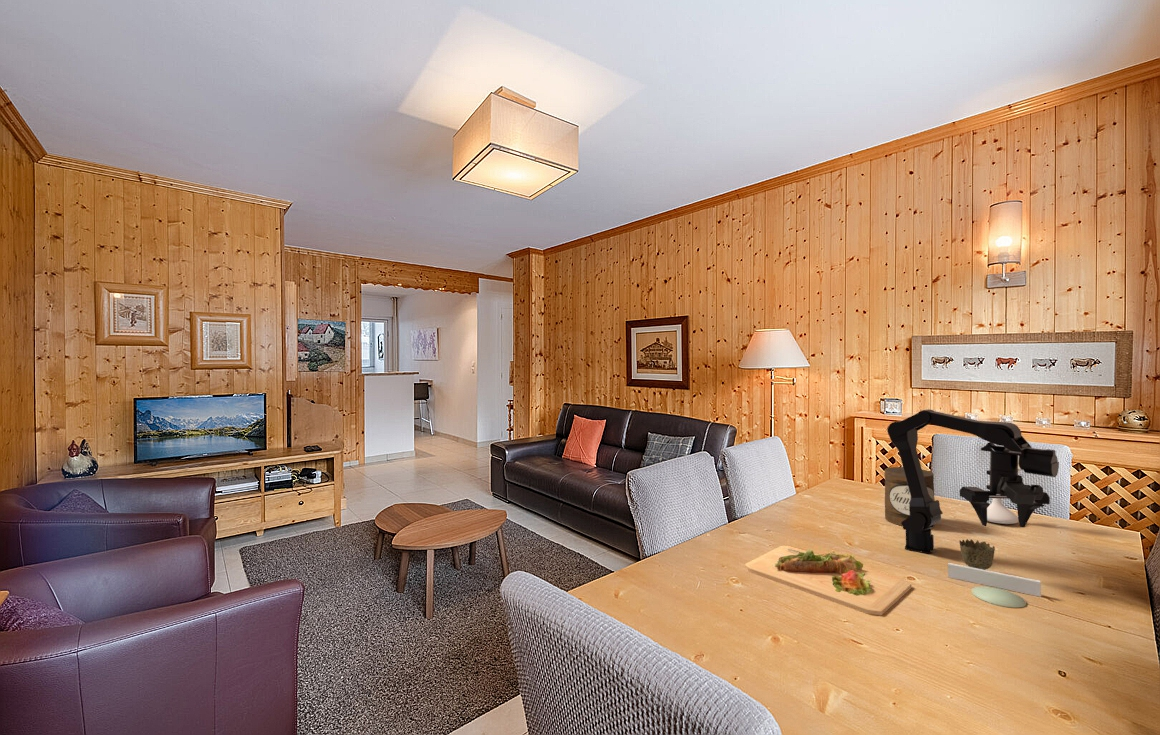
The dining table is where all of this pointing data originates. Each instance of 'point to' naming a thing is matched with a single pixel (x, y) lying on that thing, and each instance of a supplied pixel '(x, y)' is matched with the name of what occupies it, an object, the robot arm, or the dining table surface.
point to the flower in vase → (1000, 511)
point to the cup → (977, 554)
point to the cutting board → (831, 578)
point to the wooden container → (901, 494)
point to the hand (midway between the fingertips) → (1003, 526)
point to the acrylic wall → (995, 579)
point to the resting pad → (999, 597)
